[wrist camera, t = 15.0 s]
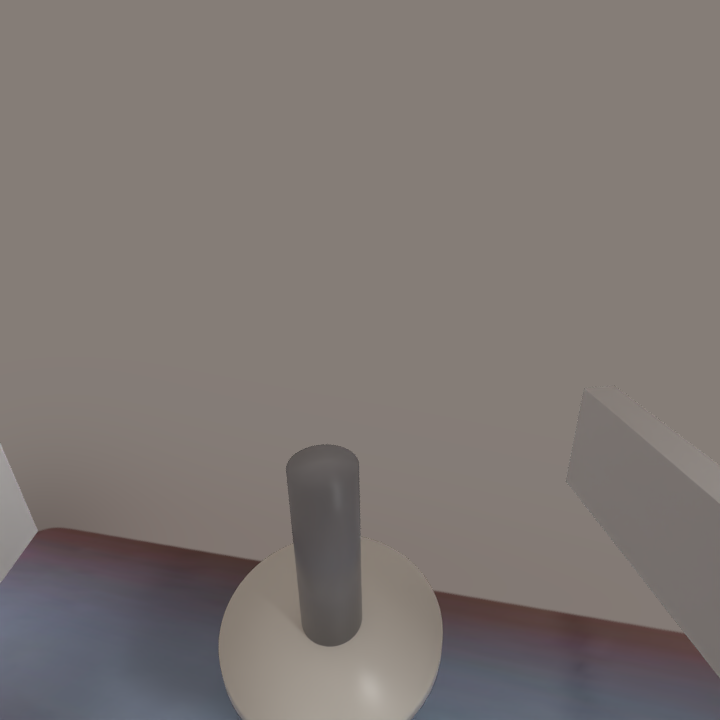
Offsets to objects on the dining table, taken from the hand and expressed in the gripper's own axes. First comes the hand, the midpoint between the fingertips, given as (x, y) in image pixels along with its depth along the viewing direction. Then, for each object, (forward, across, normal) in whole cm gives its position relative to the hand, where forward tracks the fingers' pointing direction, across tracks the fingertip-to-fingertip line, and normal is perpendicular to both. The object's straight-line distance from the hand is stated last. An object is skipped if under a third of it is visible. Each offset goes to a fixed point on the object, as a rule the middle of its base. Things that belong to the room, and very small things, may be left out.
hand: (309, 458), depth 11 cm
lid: (+10, 0, -20) cm, 22 cm away
